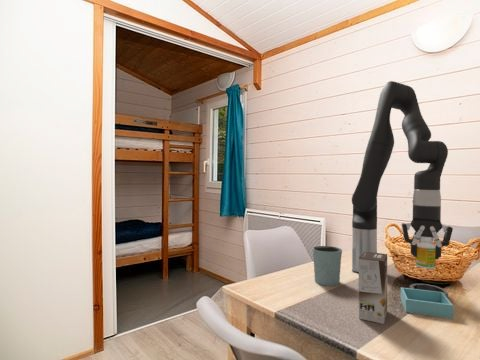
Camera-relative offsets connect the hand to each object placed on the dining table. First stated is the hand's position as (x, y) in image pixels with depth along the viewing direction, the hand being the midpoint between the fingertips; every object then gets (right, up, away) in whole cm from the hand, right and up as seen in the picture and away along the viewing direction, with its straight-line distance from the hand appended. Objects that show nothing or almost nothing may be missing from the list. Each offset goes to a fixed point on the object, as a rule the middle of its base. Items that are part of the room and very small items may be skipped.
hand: (425, 257), depth 94 cm
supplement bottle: (0, -3, 0) cm, 3 cm away
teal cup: (-27, -12, +13) cm, 33 cm away
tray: (-6, -12, -9) cm, 16 cm away
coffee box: (-23, -12, -13) cm, 29 cm away
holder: (+1, -12, 0) cm, 12 cm away
